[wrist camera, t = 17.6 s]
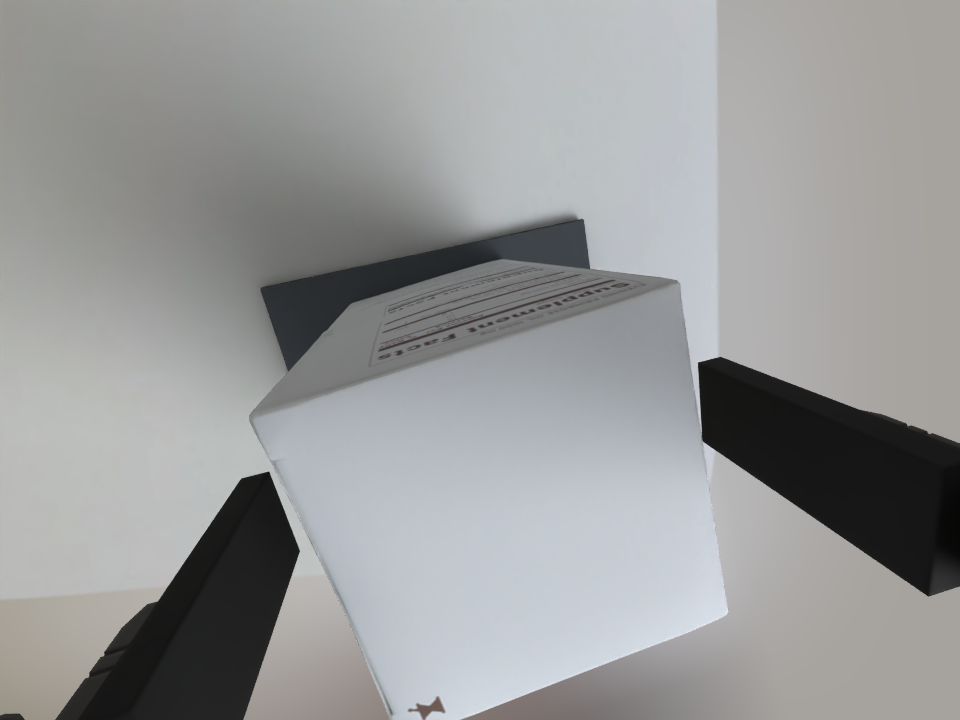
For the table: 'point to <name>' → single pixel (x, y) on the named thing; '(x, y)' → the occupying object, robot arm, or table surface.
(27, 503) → the table surface
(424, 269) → the mat
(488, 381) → the supplement box
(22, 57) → the table surface
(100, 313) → the table surface
